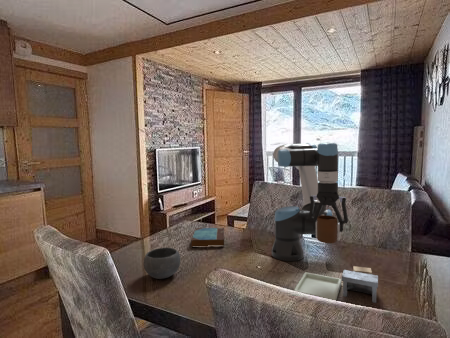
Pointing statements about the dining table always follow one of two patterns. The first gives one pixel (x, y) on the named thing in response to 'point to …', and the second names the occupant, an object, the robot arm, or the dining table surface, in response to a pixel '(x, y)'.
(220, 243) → the book
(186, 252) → the dining table surface
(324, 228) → the mug
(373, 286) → the gray bench
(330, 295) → the tray
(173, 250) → the bowl
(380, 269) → the dining table surface
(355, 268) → the block
